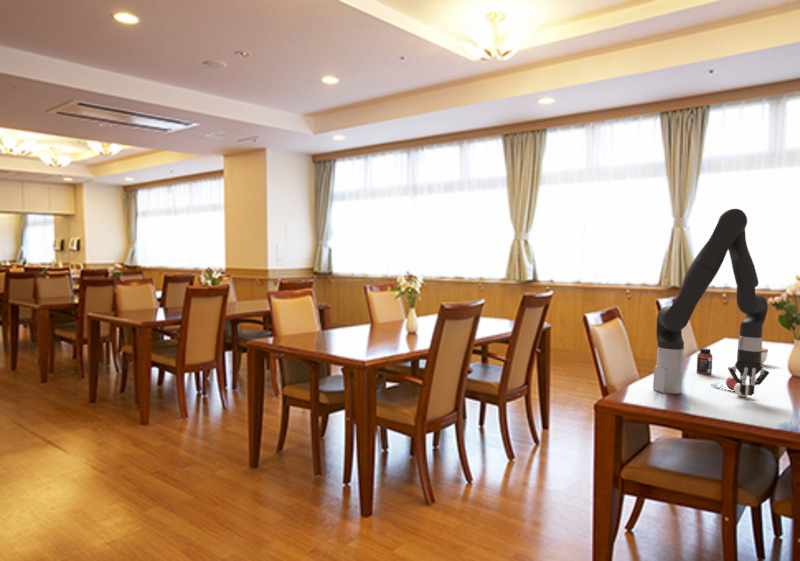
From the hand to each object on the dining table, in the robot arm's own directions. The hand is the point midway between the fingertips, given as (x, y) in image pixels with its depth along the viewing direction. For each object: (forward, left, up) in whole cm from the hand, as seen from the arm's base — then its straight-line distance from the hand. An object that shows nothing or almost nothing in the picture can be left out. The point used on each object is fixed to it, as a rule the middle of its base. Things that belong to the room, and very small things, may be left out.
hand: (746, 394), depth 206 cm
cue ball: (+3, +5, +1) cm, 6 cm away
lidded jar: (+65, +58, -2) cm, 87 cm away
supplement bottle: (+20, +42, -2) cm, 46 cm away
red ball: (+8, +14, +1) cm, 16 cm away
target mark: (+10, +18, -2) cm, 21 cm away
